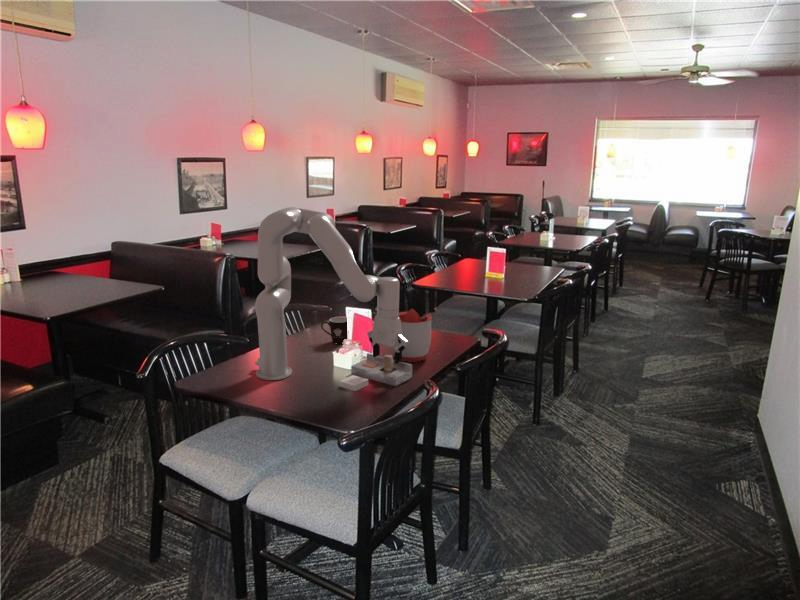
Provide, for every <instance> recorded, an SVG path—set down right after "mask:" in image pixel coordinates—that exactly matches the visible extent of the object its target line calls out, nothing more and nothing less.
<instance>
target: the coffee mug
mask: <svg viewBox="0 0 800 600" xmlns="http://www.w3.org/2000/svg"><path fill="white" fill-rule="evenodd" d="M347 318H348V317H346V316H335V317H331V318H329V320H328V321H329V322H328V321H323V322H322V323H321V324H320V328H321V330H323V332H325V333H326V334H327V335H329V336H330V337H331V341H332V342H333V343H337V344H336V345H339V344H340V345H343V344H342V342H343V340H344V339H347ZM324 324H327V325H328V326H329V329H330V332H328V331H327V330H325V328H324V327H323V325H324ZM332 342H331V343H332ZM333 343H332V344H333Z"/></svg>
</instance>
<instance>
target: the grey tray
mask: <svg viewBox="0 0 800 600" xmlns="http://www.w3.org/2000/svg"><path fill="white" fill-rule="evenodd" d="M350 372H351V373H350V374H351V375H355V376H358V377H362V378H365V379H368V380H373V381H376V382H379V383H383V384H385V385H390V386H393V387H397V386H400V385H402V384H404V383H405V382H407V381H409V380H411V379H412V378H413V364H412V363H409V362H405V361H401V362H399V363H395V359H393V372H391V373H387V372H384V356H380V355H379V356H376V357H373V353H369V352H368V353H366V359H364V360H362V361H359V362H357V363H355V364H353V365H351V366H350ZM410 378H411V379H410Z"/></svg>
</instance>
